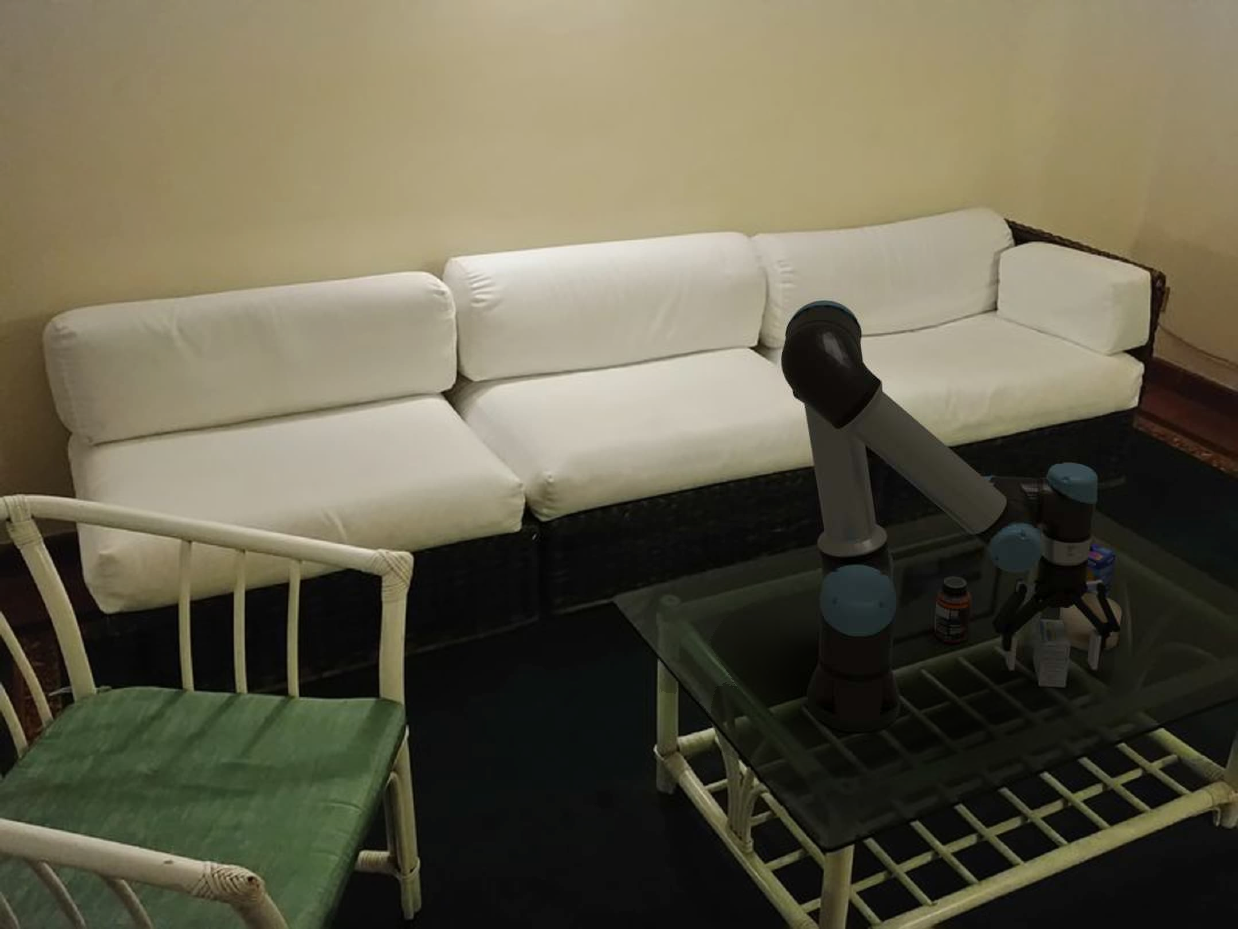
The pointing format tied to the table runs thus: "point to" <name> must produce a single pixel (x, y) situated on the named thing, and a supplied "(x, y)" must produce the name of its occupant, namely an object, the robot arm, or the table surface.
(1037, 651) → the medicine box
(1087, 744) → the table surface
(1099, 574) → the ink cartridge box
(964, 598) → the supplement bottle
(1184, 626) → the table surface
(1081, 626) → the birch riser
